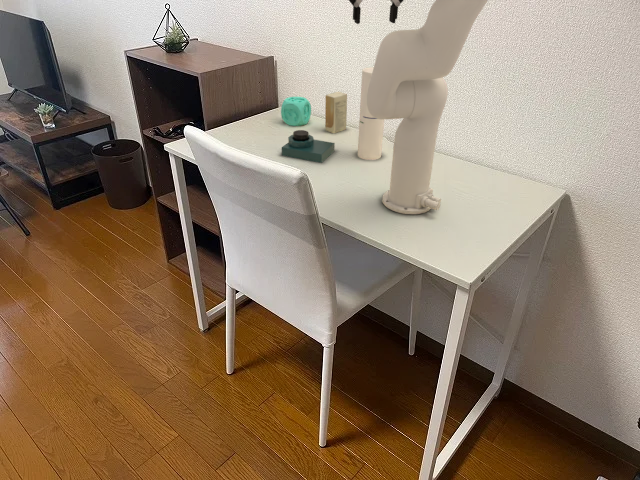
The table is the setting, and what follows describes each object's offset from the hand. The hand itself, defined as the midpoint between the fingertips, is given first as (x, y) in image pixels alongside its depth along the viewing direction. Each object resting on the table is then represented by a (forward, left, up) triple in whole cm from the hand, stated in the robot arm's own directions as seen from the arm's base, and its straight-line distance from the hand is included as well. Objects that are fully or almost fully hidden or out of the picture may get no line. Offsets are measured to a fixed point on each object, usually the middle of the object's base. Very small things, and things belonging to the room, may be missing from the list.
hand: (374, 22), depth 130 cm
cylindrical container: (-2, +1, -37) cm, 37 cm away
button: (+14, +14, -33) cm, 38 cm away
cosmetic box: (+20, -8, -37) cm, 43 cm away
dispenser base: (+12, +13, -37) cm, 41 cm away
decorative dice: (+35, -4, -37) cm, 51 cm away
